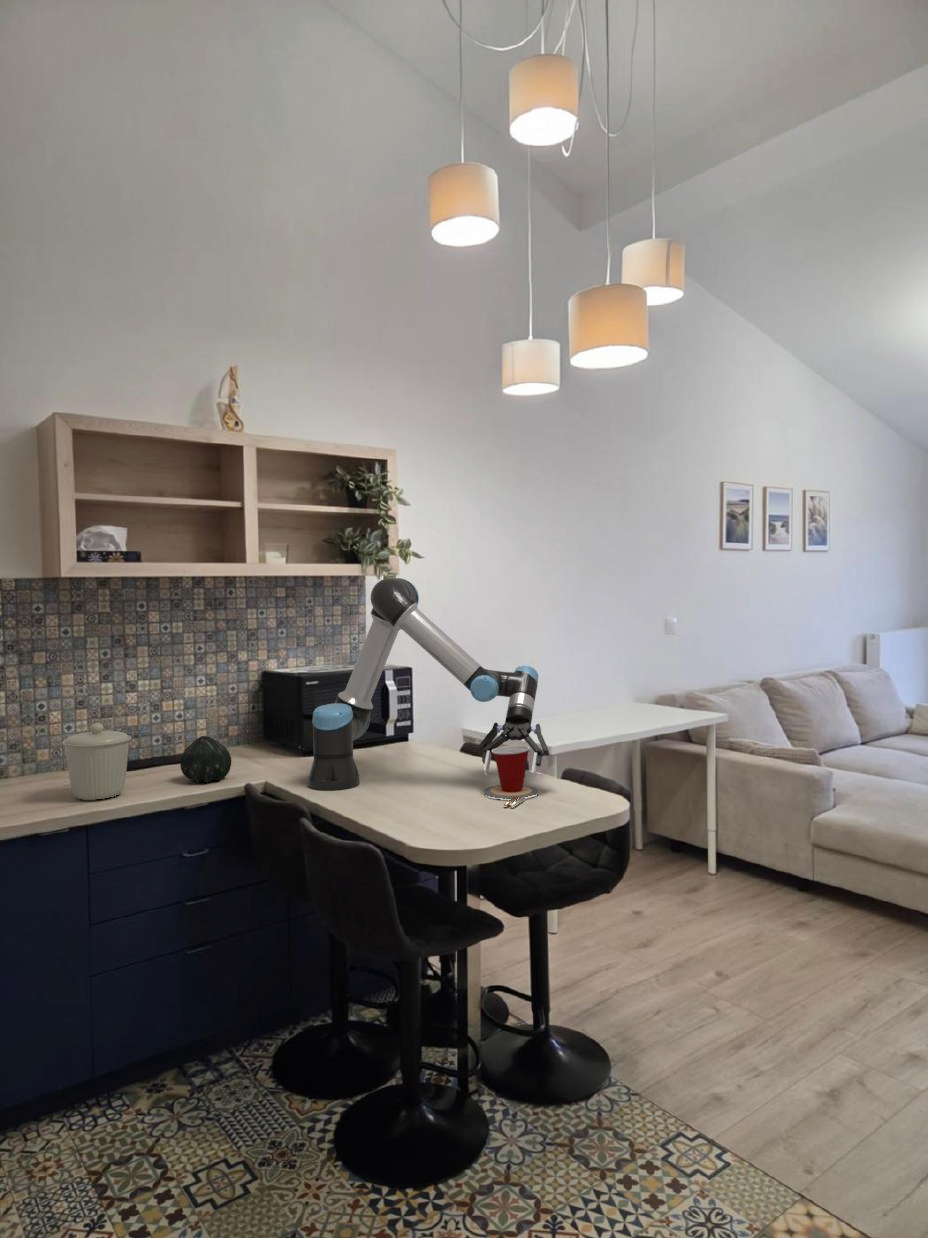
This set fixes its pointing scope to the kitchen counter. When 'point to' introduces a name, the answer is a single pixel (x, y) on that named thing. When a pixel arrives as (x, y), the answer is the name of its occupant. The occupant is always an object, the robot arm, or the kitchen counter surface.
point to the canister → (97, 762)
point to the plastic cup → (511, 766)
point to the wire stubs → (513, 801)
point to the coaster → (498, 793)
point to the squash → (205, 760)
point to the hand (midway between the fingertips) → (509, 774)
